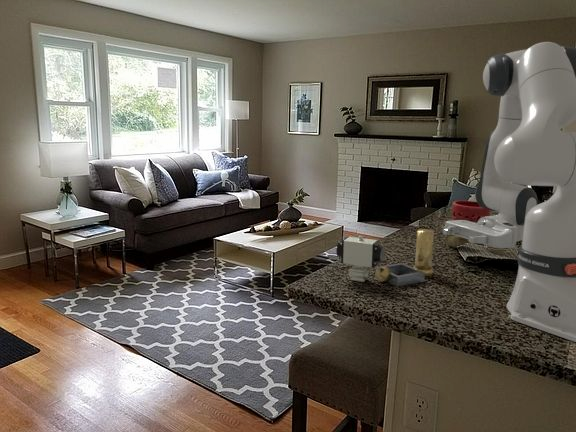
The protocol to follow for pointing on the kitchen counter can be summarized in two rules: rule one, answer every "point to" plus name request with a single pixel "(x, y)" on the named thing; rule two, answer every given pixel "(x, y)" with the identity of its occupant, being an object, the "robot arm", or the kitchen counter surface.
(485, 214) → the plant pot
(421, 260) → the pipe fitting
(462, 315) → the kitchen counter surface
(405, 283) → the grey rectangular tray
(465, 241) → the onion
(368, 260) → the pneumatic valve
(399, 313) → the kitchen counter surface
